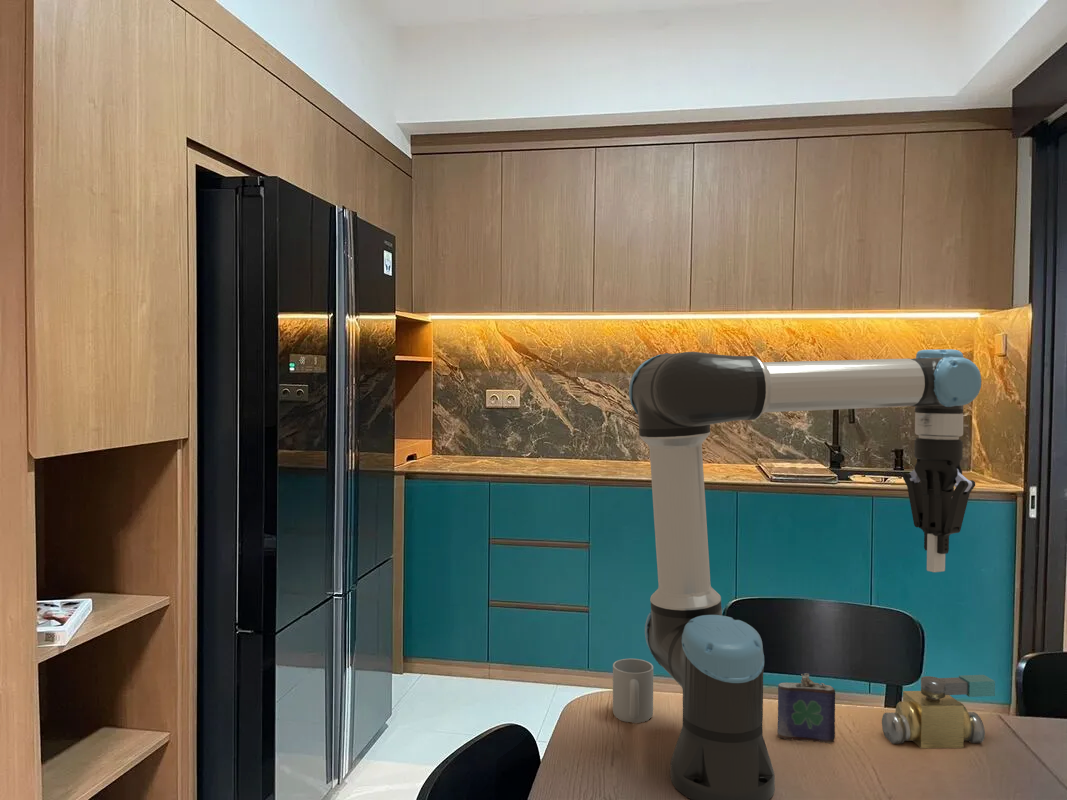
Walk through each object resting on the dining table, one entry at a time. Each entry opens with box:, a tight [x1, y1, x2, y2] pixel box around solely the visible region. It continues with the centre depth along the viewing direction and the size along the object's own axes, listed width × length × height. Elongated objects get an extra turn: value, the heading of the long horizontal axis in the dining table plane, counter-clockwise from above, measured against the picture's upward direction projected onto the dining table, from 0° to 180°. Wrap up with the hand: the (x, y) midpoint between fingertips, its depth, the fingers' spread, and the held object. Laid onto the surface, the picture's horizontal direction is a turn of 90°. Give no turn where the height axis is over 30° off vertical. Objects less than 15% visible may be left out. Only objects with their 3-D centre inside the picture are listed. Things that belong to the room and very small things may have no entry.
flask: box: [777, 672, 836, 744], centre depth 128 cm, size 9×3×11 cm, turn 80°
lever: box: [920, 674, 996, 698], centre depth 128 cm, size 12×4×2 cm, turn 95°
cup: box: [612, 658, 654, 724], centre depth 136 cm, size 7×10×9 cm
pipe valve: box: [881, 690, 986, 749], centre depth 127 cm, size 15×6×8 cm, turn 91°
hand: (935, 570), depth 134 cm, fingers closed
